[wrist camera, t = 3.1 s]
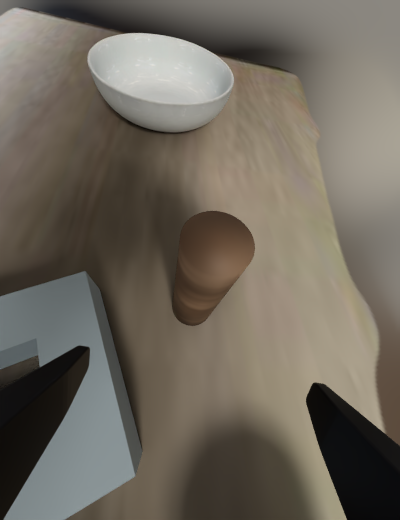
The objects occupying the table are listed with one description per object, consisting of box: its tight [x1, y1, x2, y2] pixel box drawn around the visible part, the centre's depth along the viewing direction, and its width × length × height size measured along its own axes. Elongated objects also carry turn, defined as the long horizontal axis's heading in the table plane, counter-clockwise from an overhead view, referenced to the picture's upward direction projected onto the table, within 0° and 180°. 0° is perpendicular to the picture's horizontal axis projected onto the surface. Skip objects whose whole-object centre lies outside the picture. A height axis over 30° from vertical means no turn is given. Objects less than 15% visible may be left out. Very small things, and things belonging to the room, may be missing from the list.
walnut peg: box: [172, 211, 255, 326], centre depth 17 cm, size 4×4×12 cm
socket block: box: [0, 271, 142, 520], centre depth 15 cm, size 14×14×4 cm
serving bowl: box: [87, 33, 234, 132], centre depth 34 cm, size 21×21×7 cm
